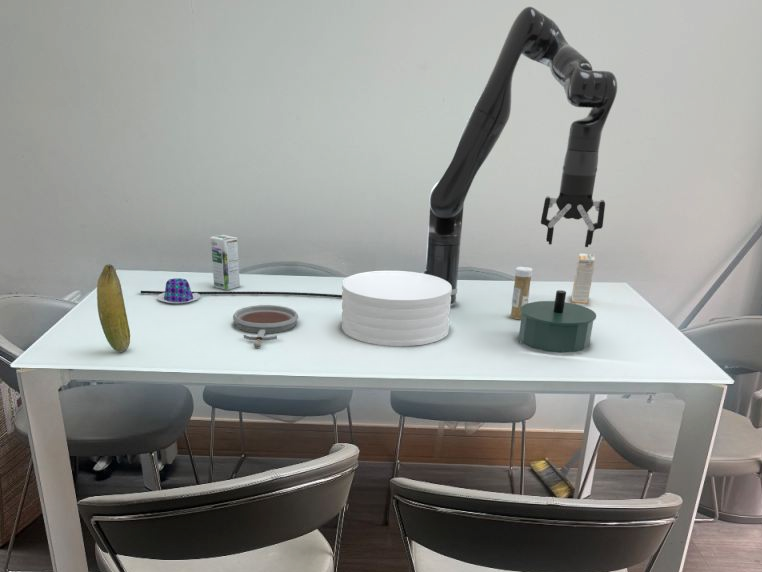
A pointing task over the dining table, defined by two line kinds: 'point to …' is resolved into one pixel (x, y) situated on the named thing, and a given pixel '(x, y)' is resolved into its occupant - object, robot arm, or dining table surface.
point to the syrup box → (225, 262)
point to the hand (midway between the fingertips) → (568, 245)
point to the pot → (554, 336)
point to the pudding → (178, 292)
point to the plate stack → (396, 307)
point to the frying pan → (265, 321)
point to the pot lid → (558, 311)
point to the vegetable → (112, 309)
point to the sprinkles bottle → (520, 290)
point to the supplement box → (583, 278)
